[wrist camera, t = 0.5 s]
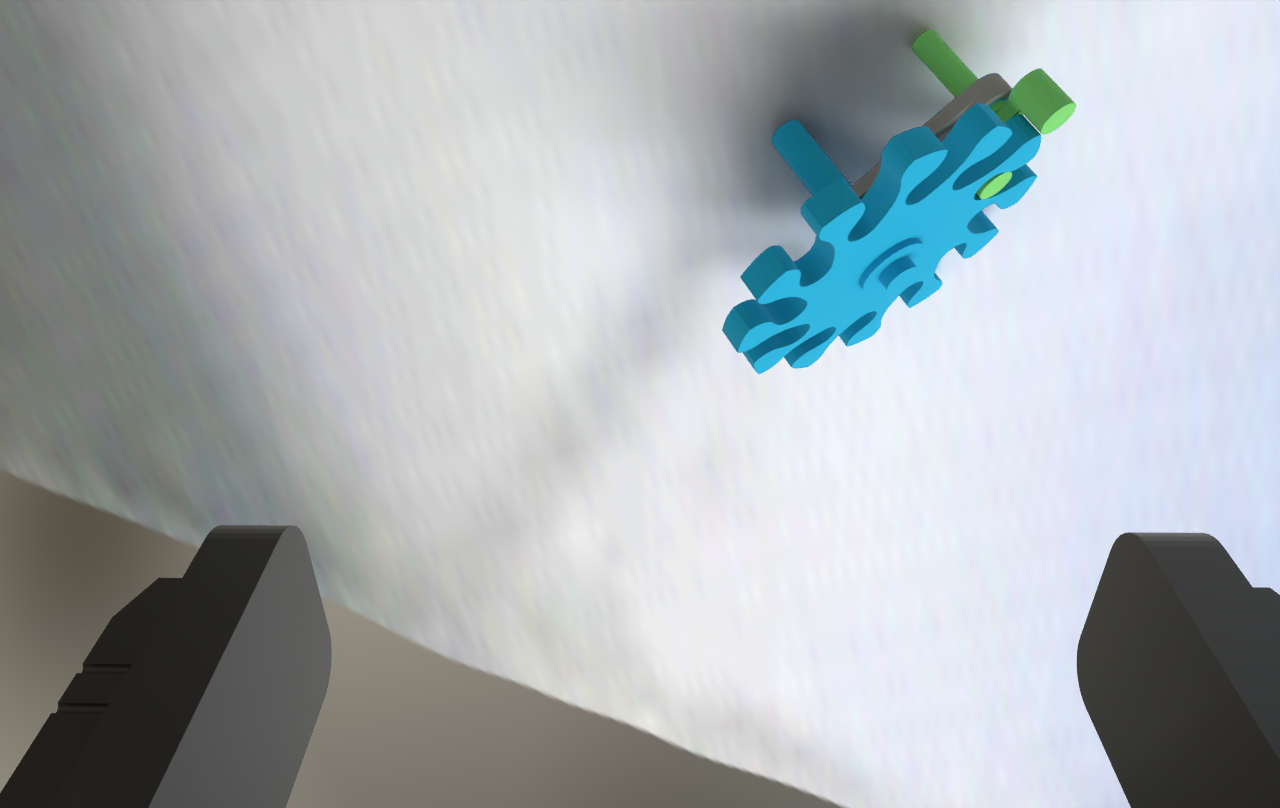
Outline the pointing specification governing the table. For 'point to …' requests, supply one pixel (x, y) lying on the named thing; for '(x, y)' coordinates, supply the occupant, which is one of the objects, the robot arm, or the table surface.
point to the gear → (894, 213)
